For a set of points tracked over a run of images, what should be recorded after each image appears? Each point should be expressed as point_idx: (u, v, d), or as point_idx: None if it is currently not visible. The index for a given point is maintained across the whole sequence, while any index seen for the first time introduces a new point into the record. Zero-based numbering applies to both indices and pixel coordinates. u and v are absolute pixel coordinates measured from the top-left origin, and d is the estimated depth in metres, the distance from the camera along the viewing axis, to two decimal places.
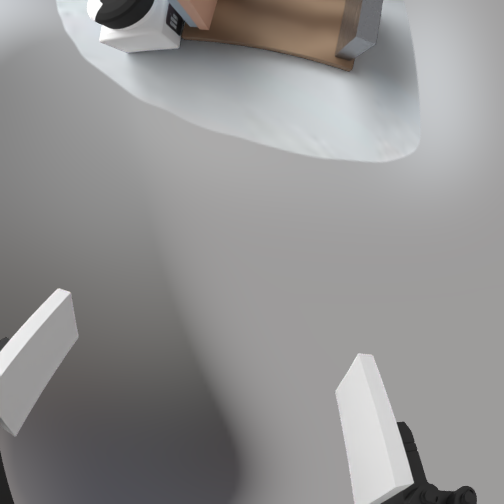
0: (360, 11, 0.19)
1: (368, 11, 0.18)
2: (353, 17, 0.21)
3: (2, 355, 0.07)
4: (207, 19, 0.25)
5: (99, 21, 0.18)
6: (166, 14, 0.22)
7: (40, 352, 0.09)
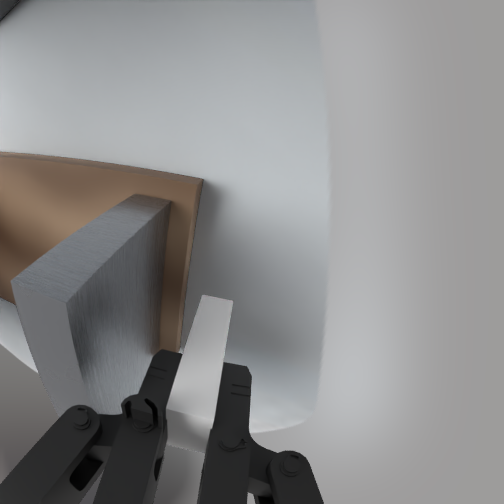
0: None
1: None
2: None
3: (185, 368, 0.09)
4: None
5: None
6: None
7: None
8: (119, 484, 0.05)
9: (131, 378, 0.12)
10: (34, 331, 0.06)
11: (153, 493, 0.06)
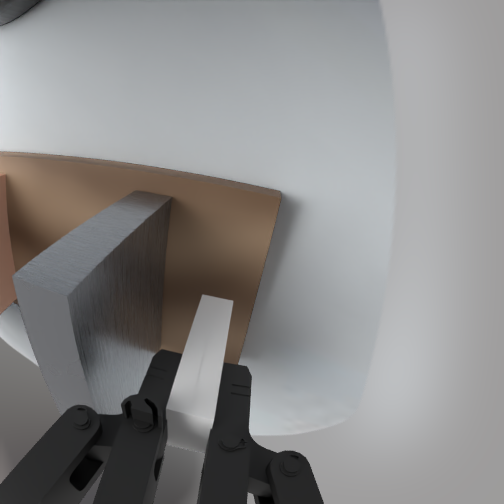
0: None
1: None
2: None
3: (185, 368, 0.09)
4: (4, 299, 0.15)
5: None
6: None
7: None
8: (119, 484, 0.05)
9: (133, 375, 0.12)
10: (35, 326, 0.06)
11: (153, 493, 0.06)
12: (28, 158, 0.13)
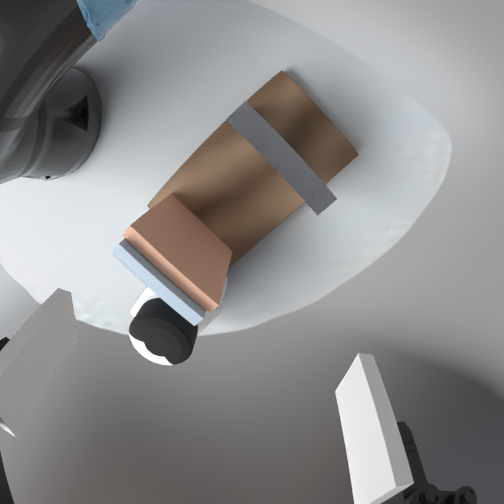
0: (290, 184, 0.22)
1: (295, 176, 0.21)
2: None
3: (2, 355, 0.07)
4: (225, 253, 0.32)
5: None
6: None
7: (40, 352, 0.09)
8: None
9: None
10: (245, 129, 0.20)
11: None
12: (178, 169, 0.30)
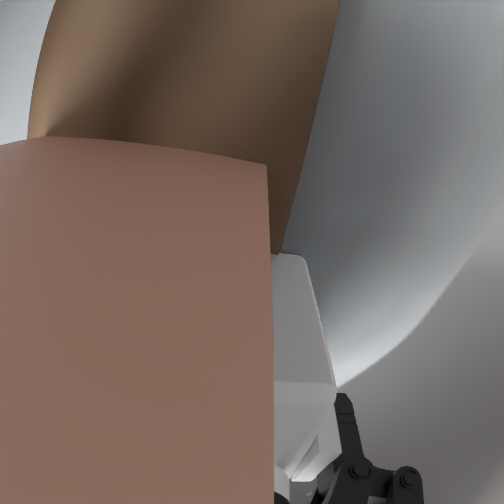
0: None
1: None
2: None
3: None
4: (238, 168, 0.08)
5: None
6: None
7: None
8: None
9: None
10: None
11: None
12: (34, 82, 0.08)
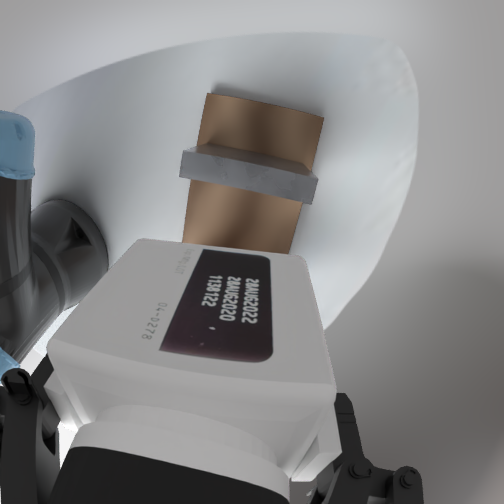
0: None
1: (268, 184, 0.21)
2: None
3: None
4: None
5: None
6: (225, 365, 0.07)
7: None
8: (15, 456, 0.04)
9: (278, 163, 0.24)
10: (199, 173, 0.21)
11: (54, 467, 0.06)
12: (184, 230, 0.32)
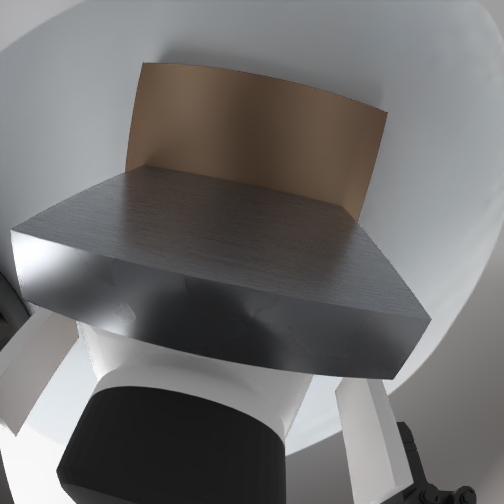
0: None
1: (272, 344, 0.06)
2: None
3: (2, 355, 0.07)
4: None
5: None
6: None
7: (40, 352, 0.09)
8: None
9: (299, 231, 0.09)
10: (59, 298, 0.06)
11: None
12: None
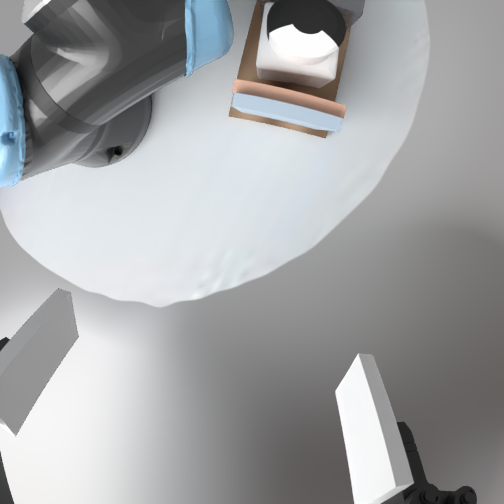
0: None
1: None
2: None
3: (2, 355, 0.07)
4: None
5: (341, 41, 0.18)
6: None
7: (40, 352, 0.09)
8: None
9: None
10: None
11: None
12: (238, 72, 0.30)
